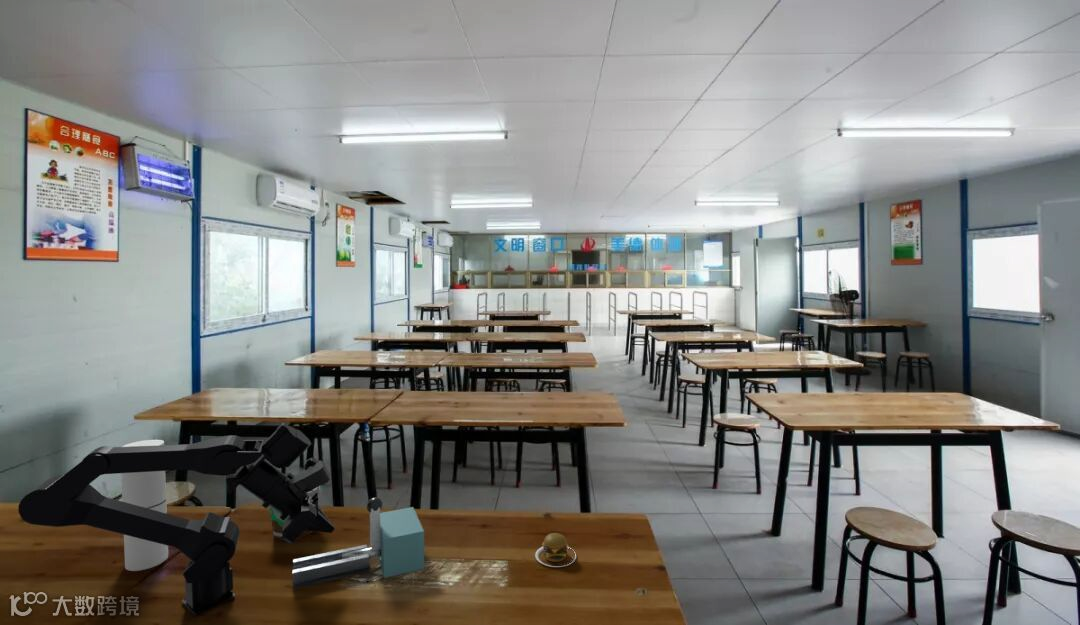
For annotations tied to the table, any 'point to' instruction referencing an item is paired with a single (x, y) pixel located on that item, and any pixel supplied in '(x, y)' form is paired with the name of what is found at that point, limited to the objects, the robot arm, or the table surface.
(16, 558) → the table surface
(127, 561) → the cylindrical container
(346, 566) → the outer sleeve
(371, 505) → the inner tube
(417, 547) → the socket block
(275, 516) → the food container
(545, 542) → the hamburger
